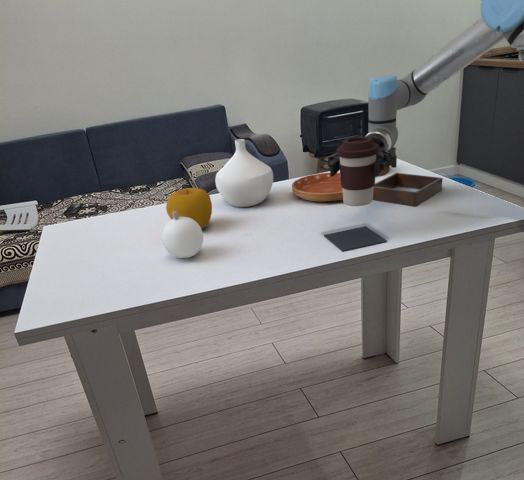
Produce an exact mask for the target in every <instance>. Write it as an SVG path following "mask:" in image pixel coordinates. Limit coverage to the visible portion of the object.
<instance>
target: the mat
mask: <svg viewBox="0 0 524 480" xmlns="http://www.w3.org/2000/svg"><path fill="white" fill-rule="evenodd" d="M323 236H324V238H325V239H327V240H328V241H329V242H331V243H332V244H333V246H335V247H336V248H338V249H339V250H340V251H341V252H343V253H344V252H348V251H353V250H357V249H361V248H366V247H370V246H375V245H379V244H385V243H387V242H388V240H387V239H386V238H384V237H382V236H381V235H380V234H378V233H377V232H375V231H374V230H372V229H371V228H370V227H368V226H366V225H363V226H359V227H354V228H349V229H345V230H339V231H335V232H331V233H326V234H323Z"/></svg>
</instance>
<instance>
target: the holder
mask: <svg viewBox="0 0 524 480" xmlns="http://www.w3.org/2000/svg"><path fill="white" fill-rule="evenodd" d="M443 179H444V178H443V177H440V176H439V177H437V176H428V175H420V174H412V173H403V172H395V173H393V174H391V175H389V176H387V177H385V178H383V179H381V180H379V181H377V182H375V185H374V190H373V200H372V201H377V202H383V203H389V204H397V205H403V206H409V207H415V208H416V207H418V206H420V205H421V204H423V203H425V202H426V201H428V200H429V199H431V198H433V197H435V196H437V195H438V194H439V193H441V192H442V191H443ZM396 187H400V188H401V187H402V188H407V189H415V191H414V190H405V189H399V188H398V189H397V188H396Z"/></svg>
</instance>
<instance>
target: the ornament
mask: <svg viewBox="0 0 524 480" xmlns="http://www.w3.org/2000/svg"><path fill="white" fill-rule="evenodd" d="M161 242H162V245H163V248H164V249H165V250H166V252H167V253H168V254H170V256H172V257H175V258H177V259H188V258H191V257H194V256H195V255H196V254H198V253H199V251H200V250H202V247H203V243H204V233H203V230H202V229H201V228H200V226H199V225H198V223H197V222H196V221H194V220H193V219H191V218H188V217H178V214H177V211H173V219H170V220H168V221H167V222H166V223H165V224H164V226H163V228H162V231H161Z"/></svg>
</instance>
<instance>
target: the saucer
mask: <svg viewBox="0 0 524 480" xmlns="http://www.w3.org/2000/svg"><path fill="white" fill-rule="evenodd" d="M291 192H292V193H293V194H294V195H295V196H297V197H299V198H301V199H302V200H304V201H305V200H306V201H309V202H321V203H323V202H326V203H327V202H337V201H343V191H342V187H341V178H340V172H337V173H336V174H335V175H334V176H330V172H323V173H315V174H310V175H306V176H303V177H300V178H297V179H296V180H294V181H293V182H292V184H291Z"/></svg>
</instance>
